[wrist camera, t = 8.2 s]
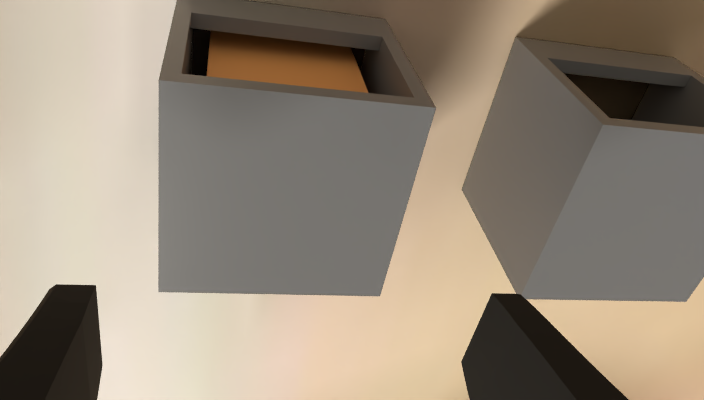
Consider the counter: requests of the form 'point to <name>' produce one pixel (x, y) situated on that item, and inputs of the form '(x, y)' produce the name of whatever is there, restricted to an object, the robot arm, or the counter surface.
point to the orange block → (283, 62)
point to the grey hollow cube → (592, 177)
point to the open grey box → (285, 160)
